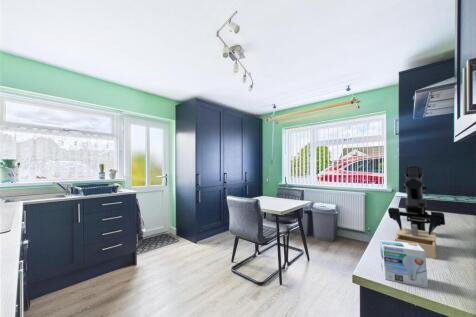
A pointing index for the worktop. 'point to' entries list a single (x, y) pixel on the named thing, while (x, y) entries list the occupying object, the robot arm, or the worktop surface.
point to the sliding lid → (417, 233)
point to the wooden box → (420, 244)
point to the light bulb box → (403, 262)
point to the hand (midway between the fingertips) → (414, 232)
